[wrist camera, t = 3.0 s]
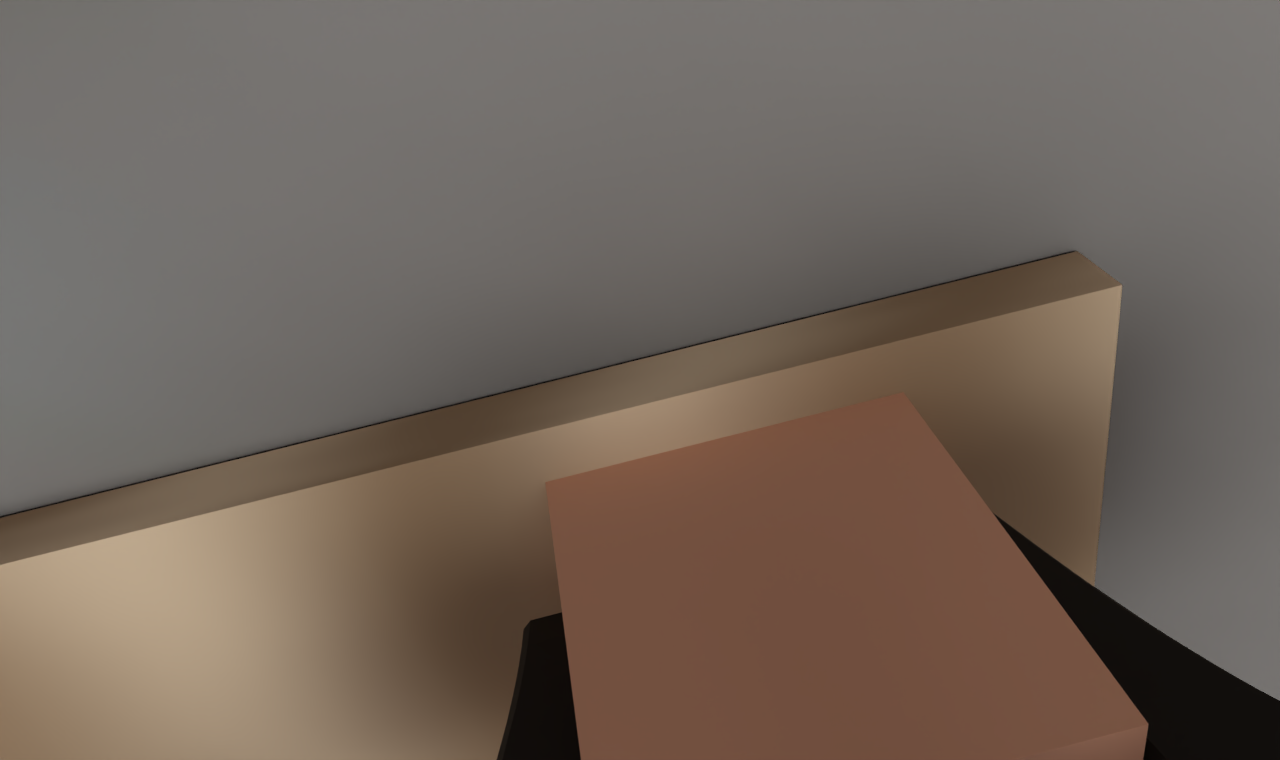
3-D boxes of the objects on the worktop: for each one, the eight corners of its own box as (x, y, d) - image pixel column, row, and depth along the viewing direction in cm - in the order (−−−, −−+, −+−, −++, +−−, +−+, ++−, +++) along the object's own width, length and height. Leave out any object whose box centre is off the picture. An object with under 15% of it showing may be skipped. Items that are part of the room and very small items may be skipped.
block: (618, 719, 14) (686, 1114, 10) (545, 481, 12) (594, 871, 8) (915, 641, 14) (1105, 997, 10) (903, 392, 12) (1148, 724, 8)
